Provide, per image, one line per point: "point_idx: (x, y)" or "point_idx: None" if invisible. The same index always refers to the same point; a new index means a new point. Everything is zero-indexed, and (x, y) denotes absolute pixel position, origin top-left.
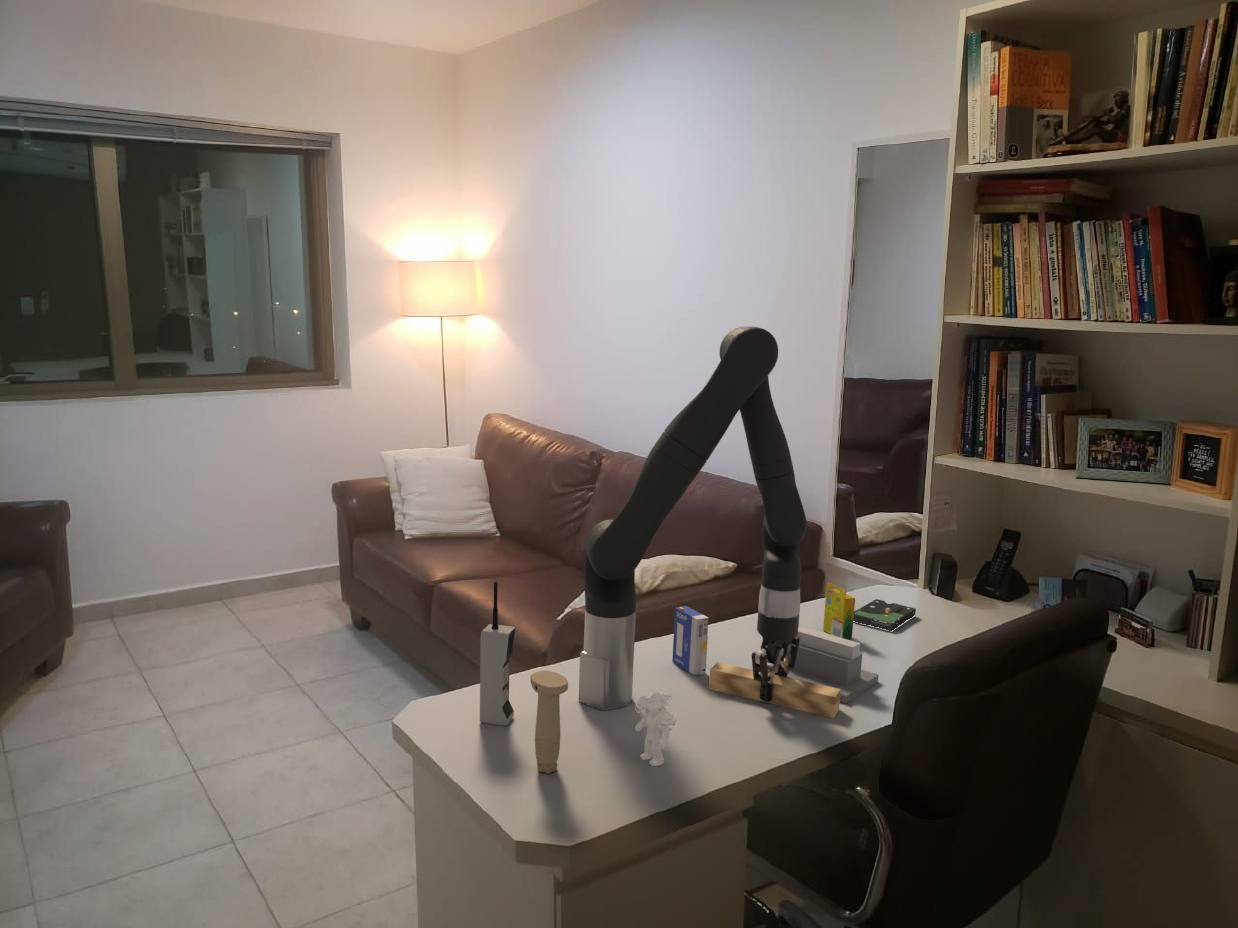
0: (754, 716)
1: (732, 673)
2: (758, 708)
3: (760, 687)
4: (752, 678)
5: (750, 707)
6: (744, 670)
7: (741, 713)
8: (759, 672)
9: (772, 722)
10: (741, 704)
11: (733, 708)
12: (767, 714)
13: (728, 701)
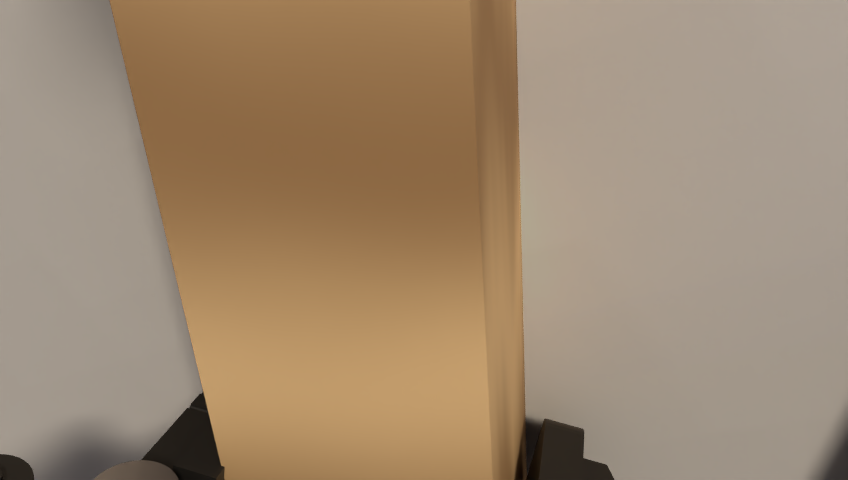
0: (41, 350)
1: (147, 39)
2: (175, 343)
3: (171, 428)
4: (197, 349)
5: (145, 284)
6: (378, 168)
7: (6, 253)
8: (445, 384)
9: (61, 469)
10: (138, 200)
11: (26, 165)
12: (136, 421)
13: (104, 68)
